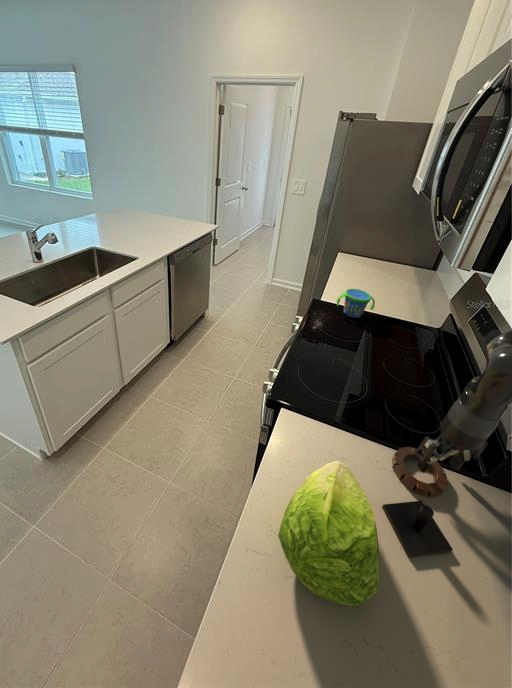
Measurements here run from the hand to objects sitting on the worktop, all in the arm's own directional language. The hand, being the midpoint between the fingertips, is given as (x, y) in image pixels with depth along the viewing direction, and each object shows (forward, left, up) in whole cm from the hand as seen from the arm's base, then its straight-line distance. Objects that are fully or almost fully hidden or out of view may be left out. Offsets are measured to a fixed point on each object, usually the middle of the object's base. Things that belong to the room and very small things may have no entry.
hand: (437, 467), depth 72 cm
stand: (+13, +11, -2) cm, 17 cm away
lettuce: (+31, +10, -2) cm, 33 cm away
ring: (+4, 0, -2) cm, 5 cm away
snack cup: (-15, -71, -2) cm, 73 cm away
